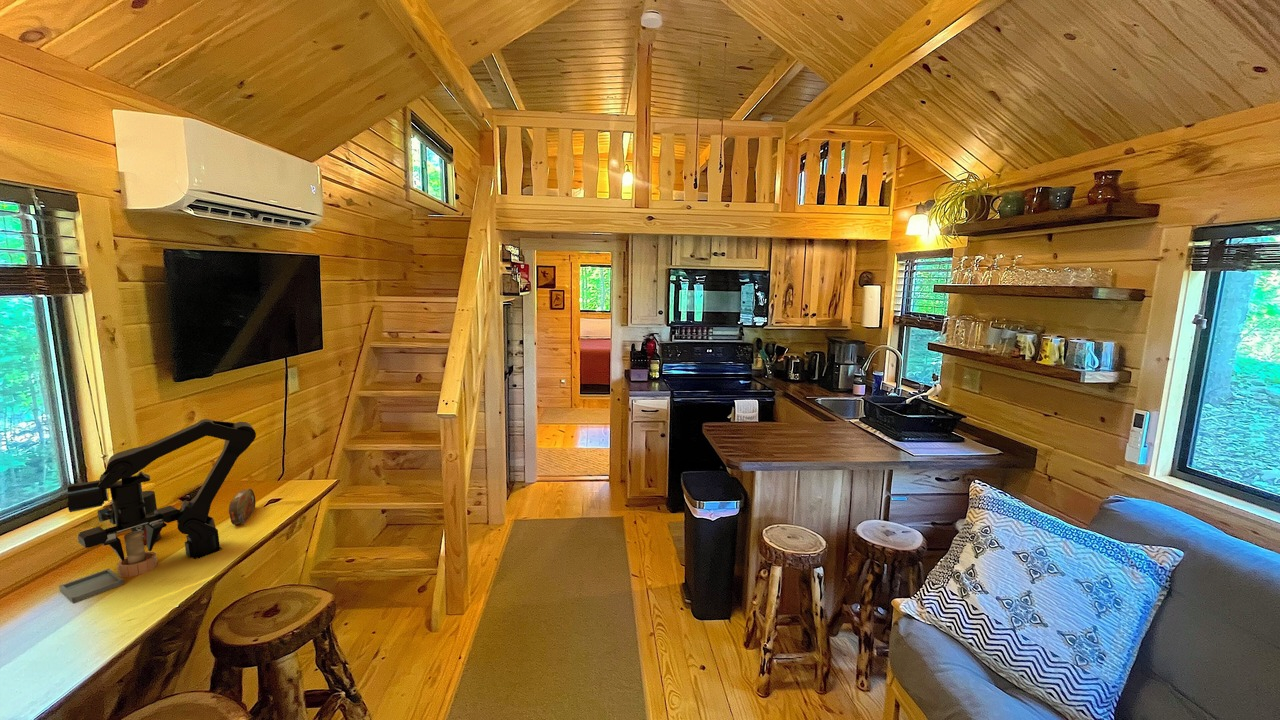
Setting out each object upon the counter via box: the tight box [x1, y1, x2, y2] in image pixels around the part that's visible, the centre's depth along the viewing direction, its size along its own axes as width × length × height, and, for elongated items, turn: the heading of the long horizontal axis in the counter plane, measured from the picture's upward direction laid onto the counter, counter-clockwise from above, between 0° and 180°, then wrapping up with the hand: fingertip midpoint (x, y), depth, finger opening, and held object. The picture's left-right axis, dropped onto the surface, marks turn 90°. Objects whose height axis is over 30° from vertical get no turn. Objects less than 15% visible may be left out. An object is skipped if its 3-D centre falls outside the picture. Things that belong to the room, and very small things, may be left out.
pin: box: [123, 531, 146, 565], centre depth 136 cm, size 3×3×10 cm
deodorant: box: [130, 490, 162, 546], centre depth 150 cm, size 6×6×15 cm
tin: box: [228, 488, 256, 526], centre depth 167 cm, size 15×3×8 cm, turn 20°
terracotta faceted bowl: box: [116, 551, 158, 578], centre depth 137 cm, size 7×7×4 cm
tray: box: [58, 568, 125, 604], centre depth 129 cm, size 9×10×2 cm
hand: (136, 555), depth 136 cm, fingers open, 5 cm apart
